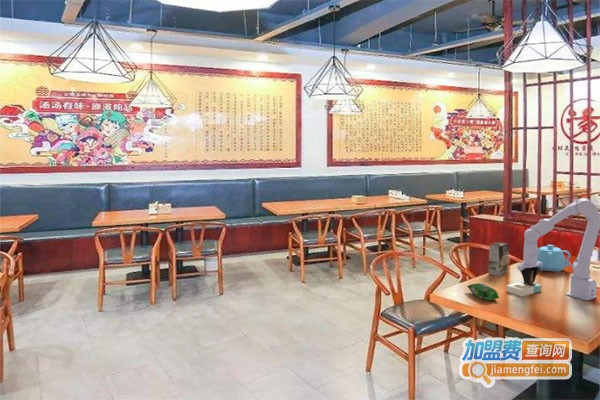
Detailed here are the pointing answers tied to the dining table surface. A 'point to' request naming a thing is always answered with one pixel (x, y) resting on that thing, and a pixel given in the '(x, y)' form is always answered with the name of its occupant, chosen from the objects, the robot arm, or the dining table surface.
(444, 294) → the dining table surface
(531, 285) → the walnut dowel
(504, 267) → the coffee box
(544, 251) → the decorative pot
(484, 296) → the snack package
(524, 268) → the robot arm
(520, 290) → the hole block
